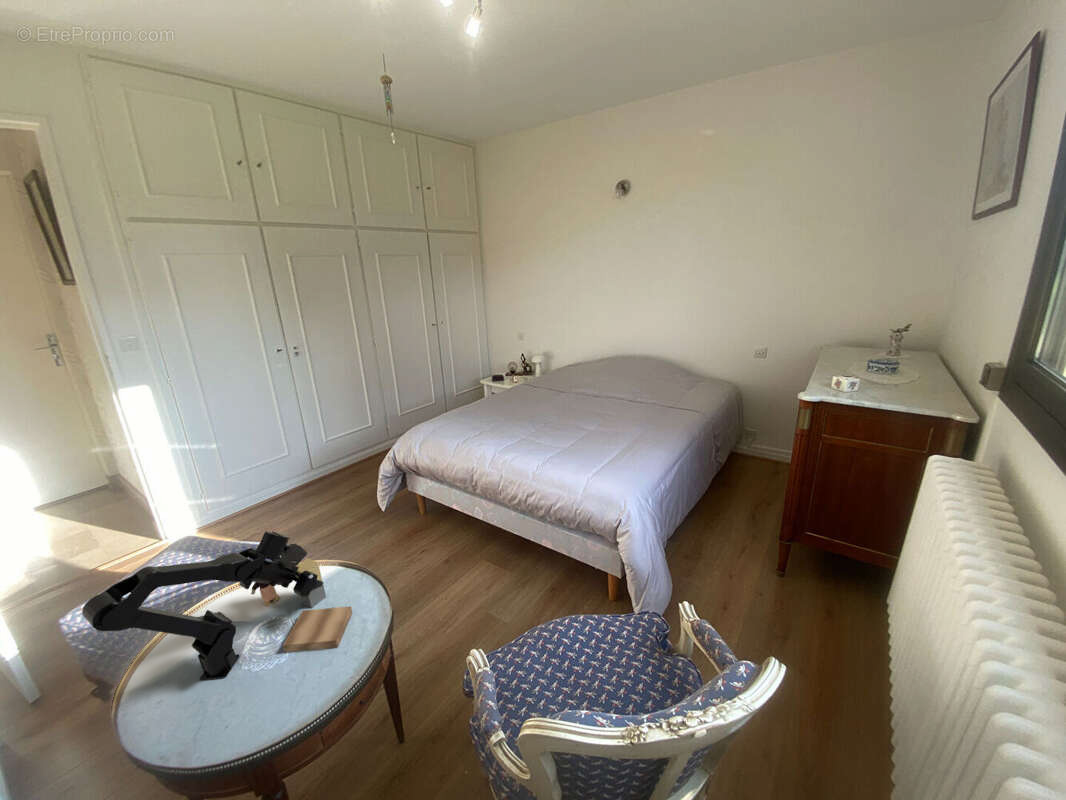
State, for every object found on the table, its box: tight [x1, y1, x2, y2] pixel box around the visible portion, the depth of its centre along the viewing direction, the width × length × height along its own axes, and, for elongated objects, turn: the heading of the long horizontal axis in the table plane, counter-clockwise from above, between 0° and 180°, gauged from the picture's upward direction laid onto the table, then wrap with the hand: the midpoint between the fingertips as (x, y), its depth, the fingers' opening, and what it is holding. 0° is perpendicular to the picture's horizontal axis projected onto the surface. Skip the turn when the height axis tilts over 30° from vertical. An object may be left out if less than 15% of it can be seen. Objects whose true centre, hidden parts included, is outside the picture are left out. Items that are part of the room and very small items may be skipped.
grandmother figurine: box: [250, 582, 280, 606], centre depth 131 cm, size 8×4×13 cm, turn 144°
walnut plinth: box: [282, 606, 353, 653], centre depth 121 cm, size 14×12×2 cm
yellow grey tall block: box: [295, 557, 327, 609], centre depth 131 cm, size 5×5×13 cm
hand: (313, 579), depth 132 cm, fingers open, 9 cm apart
